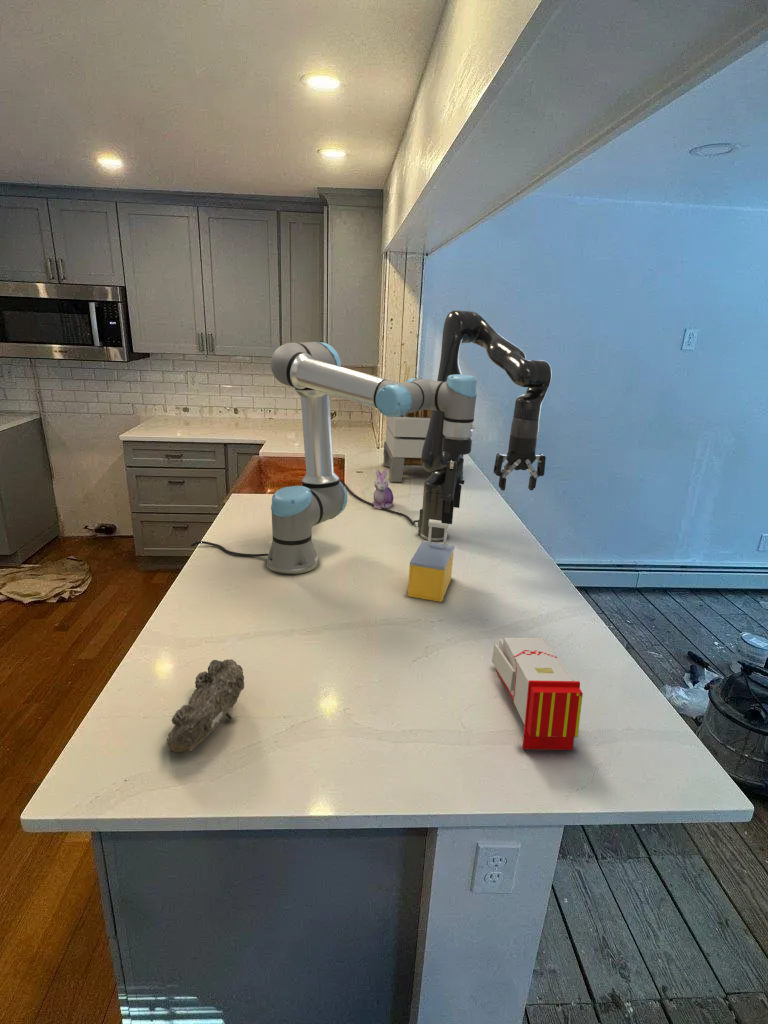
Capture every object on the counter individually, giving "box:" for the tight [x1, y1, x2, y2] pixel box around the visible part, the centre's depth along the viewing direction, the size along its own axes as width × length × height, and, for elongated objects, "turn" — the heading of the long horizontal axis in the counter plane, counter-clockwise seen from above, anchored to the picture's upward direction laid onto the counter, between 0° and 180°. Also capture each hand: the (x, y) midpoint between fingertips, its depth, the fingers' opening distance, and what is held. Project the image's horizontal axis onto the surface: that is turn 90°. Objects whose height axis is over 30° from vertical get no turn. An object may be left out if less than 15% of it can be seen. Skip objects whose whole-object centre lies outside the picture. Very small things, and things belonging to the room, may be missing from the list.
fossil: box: [166, 658, 245, 754], centre depth 106 cm, size 22×10×15 cm
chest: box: [407, 549, 455, 603], centre depth 161 cm, size 15×10×10 cm, turn 164°
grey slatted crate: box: [383, 410, 432, 483], centre depth 268 cm, size 34×33×41 cm
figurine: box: [372, 468, 394, 510], centre depth 225 cm, size 9×10×15 cm
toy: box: [491, 637, 584, 751], centre depth 115 cm, size 12×13×30 cm
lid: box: [409, 519, 455, 570], centre depth 158 cm, size 16×10×9 cm, turn 164°
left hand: (450, 514), depth 152 cm, fingers open, 13 cm apart
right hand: (516, 489), depth 163 cm, fingers open, 8 cm apart
